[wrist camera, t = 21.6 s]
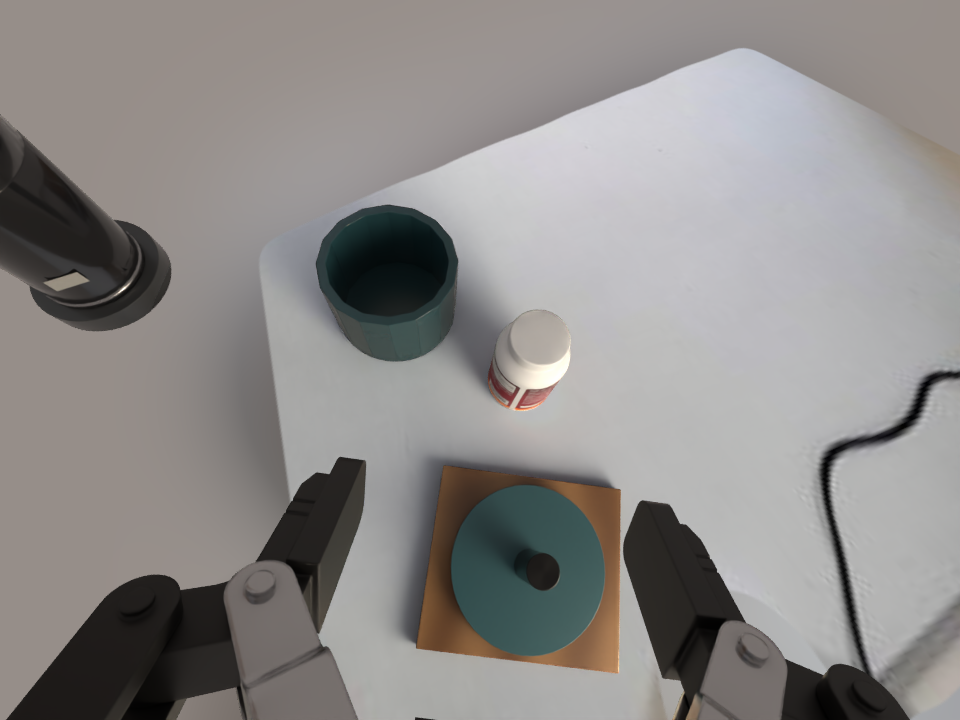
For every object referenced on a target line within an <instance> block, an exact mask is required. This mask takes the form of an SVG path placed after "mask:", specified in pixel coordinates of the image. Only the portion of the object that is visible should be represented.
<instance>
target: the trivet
mask: <svg viewBox="0 0 960 720" xmlns="http://www.w3.org/2000/svg"><path fill="white" fill-rule="evenodd" d="M515 485H536V486H541V487H545V488H548V489H551V490H554V491H556V492H558V493H560V494H561V495H563V496H565V497H566V498H568V499H569V500H571V501H572V502H573V503H574V504H575V505H576V506H577V507H578V508H579V509H580V510H581V511H582V512H583V513H584V514H585V515H586V517H587V518H588V520H589V521H590V523H591V524H592V526H593V528H594V530H595V532H596V534H597V536H598V539H599V541H600V544H601V548H602V551H603V556H604V563H605V583H604V590H603V595H602V599H601V602H600V605H599V608H598V610H597V612H596V614H595V616H594V618H593V620H592V621H591V623H590V624H589V626H588V627H587V628H586V630H585V631H584V632H583V633H582V634H581V635H580V636H579V637H578V638H577V639H576V640H574V641H573V642H572V643H570V644H569V645H567V646H566V647H564V648H562V649H560V650H558V651H556V652H553V653H549V654H546V655H540V656H520V655H515V654H511V653H508V652H505V651H503V650H500V649H498V648H496V647H495V646H493V645H491V644H490V643H488V642H487V641H486V640H484V639H483V638H482V637H481V636H480V635H479V634H478V633H477V632H476V631H475V630H474V629H473V628H472V627H471V625H470V624H469V623H468V622H467V620H466V618H465V617H464V615H463V613H462V612H461V610H460V607H459V605H458V603H457V600H456V597H455V594H454V590H453V585H452V579H451V555H452V550H453V545H454V541H455V538H456V535H457V533H458V531H459V528H460V526H461V524H462V523H463V521H464V519H465V518H466V516H467V515H468V514H469V513H470V511H471V510H472V509H473V508H474V507H475V506H476V505H477V504H478V503H479V502H480V501H481V500H483V499H484V498H486V497H487V496H488V495H490V494H492V493H494V492H496V491H498V490H501V489H503V488H506V487H511V486H515ZM620 500H621V490H620V489H614V488H607V487H600V486H592V485H585V484H578V483H570V482H563V481H556V480H548V479H541V478H534V477H526V476H519V475H512V474H504V473H497V472H490V471H482V470H475V469H468V468H460V467H453V466H446V465H444V466H443V471H442V477H441V484H440V491H439V497H438V504H437V511H436V517H435V524H434V531H433V537H432V544H431V551H430V557H429V564H428V571H427V577H426V584H425V591H424V597H423V604H422V611H421V617H420V624H419V631H418V637H417V644H416V648H417V649H424V650H432V651H440V652H449V653H457V654H465V655H473V656H481V657H489V658H497V659H505V660H514V661H522V662H530V663H538V664H546V665H554V666H562V667H570V668H579V669H587V670H595V671H603V672H611V673H619V603H620Z"/></svg>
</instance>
